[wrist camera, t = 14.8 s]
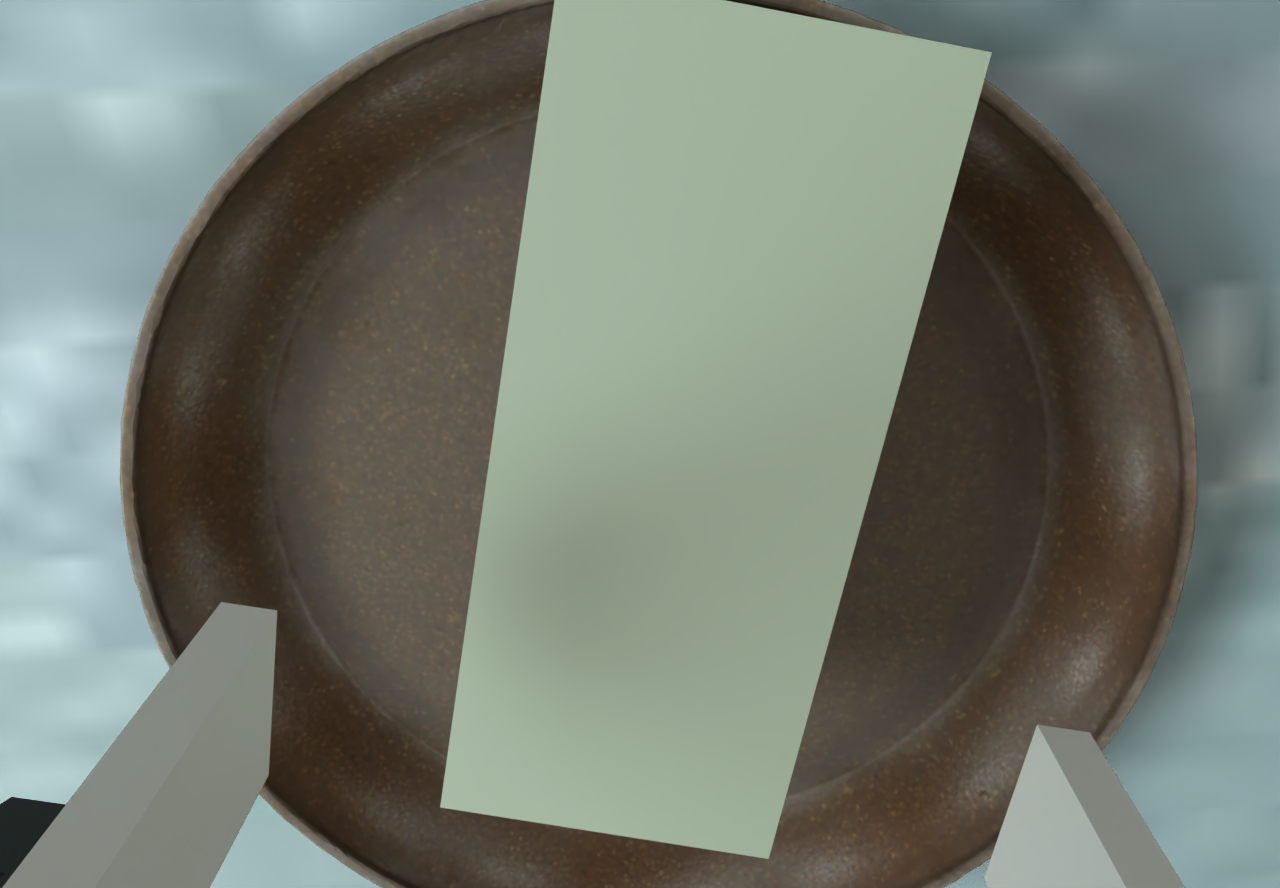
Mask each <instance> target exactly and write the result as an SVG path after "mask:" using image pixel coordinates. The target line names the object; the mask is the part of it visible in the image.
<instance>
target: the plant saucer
mask: <svg viewBox="0 0 1280 888" xmlns="http://www.w3.org/2000/svg"><path fill="white" fill-rule="evenodd" d="M726 1H731V2H736V3H741V4H747V5H752V6H757V7H762V8H767V9H772V10H777V11H782V12H788V13H793V14H798V15H803V16H808V17H813V18H818V19H824V20H829V21H834V22H839V23H844V24H849V25H854V26H859V27H865V28H870V29H875V30H880V31H885V32H890V33H895V34H900V35H906V36H910V35H908V34H905V33H903V32H901V31H899V30H897V29H895V28H893V27H890V26H888V25H886V24H883V23H881V22H878V21H876V20H873V19H871V18H868V17H865V16H863V15H860V14H858V13H855V12H853V11H850V10H847V9H844V8H841V7H838V6H835V5H832V4H829V3H826V2H823V1H820V0H726ZM553 8H554V0H484V1H481V2H478V3H475V4H472V5H469V6H466V7H463V8H460V9H457V10H454V11H451V12H449V13H447V14H444V15H442V16H439V17H437V18H434V19H432V20H430V21H427V22H425V23H423V24H420V25H418V26H416V27H414V28H411V29H409V30H407V31H404V32H402V33H400V34H398V35H396V36H394V37H392V38H390V39H388V40H386V41H384V42H382V43H380V44H378V45H376V46H375V47H373V48H371V49H370V50H368V51H366V52H365V53H363V54H361V55H360V56H358V57H356V58H355V59H353V60H351V61H350V62H348V63H347V64H345V65H344V66H342V67H341V68H339V69H338V70H336V71H335V72H333V73H332V74H330V75H328V76H327V77H325V78H324V79H322V80H320V81H319V82H317V83H316V84H315V85H314V86H312V87H311V88H310V89H308V90H307V91H306V92H305V93H303V94H302V95H301V96H299V97H298V98H297V99H296V100H295V101H294V102H293V103H291V104H290V105H289V106H288V107H287V108H286V109H284V110H283V111H282V112H281V113H280V114H279V115H278V116H277V117H276V118H275V119H274V120H272V121H271V122H270V123H269V124H268V125H267V126H266V127H265V128H264V129H263V130H262V131H261V132H260V133H259V134H258V135H257V136H256V137H255V138H254V139H253V140H252V141H251V142H250V143H249V144H248V146H247V147H246V148H245V149H244V150H243V151H242V152H241V153H240V154H239V155H238V156H237V157H236V159H235V160H234V161H233V162H232V163H231V165H230V166H229V167H228V168H227V169H226V171H225V172H224V173H223V174H222V176H221V177H220V178H219V179H218V181H217V182H216V183H215V184H214V186H213V187H212V188H211V189H210V191H209V192H208V194H207V195H206V197H205V198H204V200H203V201H202V203H201V204H200V206H199V207H198V209H197V211H196V212H195V214H194V215H193V217H192V218H191V220H190V221H189V223H188V225H187V226H186V228H185V230H184V232H183V233H182V235H181V237H180V238H179V240H178V242H177V244H176V245H175V247H174V249H173V251H172V252H171V254H170V256H169V258H168V261H167V263H166V265H165V267H164V270H163V272H162V274H161V276H160V278H159V281H158V283H157V285H156V288H155V290H154V293H153V295H152V297H151V300H150V302H149V305H148V307H147V310H146V312H145V315H144V319H143V322H142V325H141V328H140V332H139V335H138V339H137V342H136V346H135V349H134V352H133V356H132V359H131V365H130V370H129V376H128V381H127V387H126V393H125V399H124V406H123V413H122V419H121V458H120V488H121V500H122V512H123V523H124V527H125V531H126V537H127V545H128V552H129V556H130V561H131V565H132V570H133V574H134V579H135V583H136V585H137V588H138V591H139V593H140V597H141V601H142V605H143V608H144V611H145V614H146V617H147V620H148V622H149V625H150V628H151V630H152V633H153V635H154V637H155V640H156V642H157V644H158V647H159V649H160V651H161V653H162V655H163V657H164V659H165V661H166V662H167V664H168V666H169V668H171V667H172V666H173V664H174V663H175V662H176V660H177V659H178V658H179V656H180V655H181V654H182V653H183V651H184V650H185V649H186V647H187V646H188V645H189V643H190V642H191V641H192V640H193V638H194V637H195V636H196V634H197V633H198V632H199V630H200V629H201V628H202V627H203V625H204V624H205V623H206V621H207V620H208V619H209V617H210V616H211V615H212V613H213V612H214V611H215V610H216V608H217V607H218V606H219V604H220V603H221V602H224V603H231V604H237V605H244V606H251V607H257V608H264V609H271V610H277V626H276V645H275V664H274V683H273V702H272V721H271V740H270V760H269V775H268V777H267V779H266V781H265V783H264V785H263V787H262V789H261V791H260V793H259V795H260V796H261V797H262V798H263V799H264V800H265V801H266V802H267V803H268V804H269V805H270V806H271V807H272V808H273V809H274V810H275V811H276V812H277V813H278V814H279V815H280V816H282V817H283V818H284V819H285V820H286V821H287V822H289V823H290V824H291V825H292V826H294V827H295V828H296V829H297V830H298V831H300V832H301V833H302V834H303V835H305V836H306V837H307V838H308V839H310V840H311V841H312V842H314V843H315V844H316V845H317V846H319V847H320V848H321V849H322V850H324V851H325V852H327V853H329V854H330V855H332V856H333V857H335V858H336V859H338V860H339V861H340V862H341V863H343V864H344V865H346V866H347V867H349V868H350V869H352V870H353V871H355V872H356V873H358V874H359V875H361V876H363V877H364V878H366V879H367V880H369V881H371V882H372V883H374V884H376V885H378V886H380V887H382V888H944V887H946V886H947V885H949V884H951V883H953V882H955V881H957V880H958V879H960V878H961V877H962V876H964V875H965V874H967V873H968V872H970V871H971V870H973V869H974V868H976V867H978V866H980V865H981V864H983V863H984V862H985V861H986V860H988V859H990V858H991V856H992V854H993V851H994V848H995V845H996V842H997V839H998V836H999V833H1000V830H1001V827H1002V825H1003V822H1004V819H1005V816H1006V813H1007V810H1008V807H1009V804H1010V801H1011V799H1012V796H1013V793H1014V790H1015V787H1016V784H1017V781H1018V778H1019V775H1020V772H1021V770H1022V767H1023V764H1024V761H1025V758H1026V755H1027V752H1028V749H1029V746H1030V743H1031V741H1032V738H1033V735H1034V732H1035V729H1036V726H1037V725H1044V726H1050V727H1057V728H1064V729H1070V730H1077V731H1084V732H1090V734H1091V735H1092V737H1093V739H1094V740H1095V742H1096V743H1097V745H1098V747H1099V748H1100V750H1101V751H1102V750H1103V748H1104V747H1105V746H1106V745H1107V744H1108V742H1109V741H1110V740H1111V739H1112V738H1113V736H1114V735H1115V734H1116V732H1117V730H1118V728H1119V727H1120V725H1121V723H1122V722H1123V720H1124V719H1125V717H1126V716H1127V714H1128V713H1129V711H1130V709H1131V708H1132V706H1133V705H1134V703H1135V702H1136V700H1137V699H1138V697H1139V695H1140V693H1141V692H1142V690H1143V688H1144V686H1145V684H1146V682H1147V681H1148V679H1149V677H1150V675H1151V673H1152V671H1153V668H1154V666H1155V664H1156V662H1157V659H1158V657H1159V655H1160V652H1161V650H1162V648H1163V645H1164V642H1165V640H1166V637H1167V635H1168V632H1169V629H1170V627H1171V624H1172V622H1173V619H1174V616H1175V613H1176V610H1177V606H1178V603H1179V599H1180V596H1181V592H1182V588H1183V582H1184V578H1185V574H1186V570H1187V566H1188V562H1189V558H1190V554H1191V548H1192V542H1193V535H1194V529H1195V524H1194V516H1195V512H1196V507H1197V486H1198V464H1197V443H1196V431H1195V421H1194V414H1193V407H1192V399H1191V393H1190V388H1189V384H1188V379H1187V374H1186V369H1185V364H1184V360H1183V355H1182V352H1181V348H1180V345H1179V342H1178V339H1177V336H1176V333H1175V330H1174V326H1173V323H1172V320H1171V317H1170V314H1169V312H1168V309H1167V307H1166V305H1165V302H1164V300H1163V297H1162V295H1161V292H1160V290H1159V287H1158V285H1157V283H1156V280H1155V278H1154V276H1153V274H1152V272H1151V270H1150V269H1149V267H1148V265H1147V263H1146V262H1145V260H1144V258H1143V256H1142V254H1141V252H1140V250H1139V248H1138V246H1137V244H1136V242H1135V240H1134V239H1133V237H1132V236H1131V234H1130V233H1129V231H1128V230H1127V229H1126V227H1125V226H1124V224H1123V223H1122V221H1121V220H1120V218H1119V216H1118V215H1117V213H1116V211H1115V210H1114V208H1113V207H1112V205H1111V204H1110V203H1109V201H1108V200H1107V199H1106V197H1105V196H1104V195H1103V193H1102V192H1101V190H1100V189H1099V188H1098V186H1097V185H1096V184H1095V182H1094V181H1093V180H1092V179H1091V177H1090V176H1089V175H1088V174H1087V173H1086V172H1085V171H1084V170H1083V169H1082V168H1081V166H1080V165H1079V164H1078V163H1077V162H1076V160H1075V159H1074V158H1073V157H1072V155H1071V154H1070V153H1069V152H1068V151H1067V150H1066V149H1065V148H1064V147H1063V146H1062V145H1061V144H1060V143H1059V142H1058V141H1057V140H1056V139H1055V138H1054V137H1053V136H1052V135H1051V134H1050V133H1049V132H1048V131H1047V130H1046V129H1045V128H1044V127H1043V126H1042V125H1041V124H1040V123H1038V122H1037V121H1036V120H1035V119H1034V118H1032V117H1031V116H1030V115H1029V114H1028V113H1027V112H1025V111H1024V110H1023V109H1022V108H1021V107H1020V106H1018V105H1017V104H1016V103H1015V102H1014V101H1012V100H1011V99H1010V98H1009V97H1008V96H1007V95H1005V94H1004V93H1003V92H1002V91H1000V90H999V89H997V88H996V87H994V86H993V85H992V84H990V83H989V82H987V81H986V80H984V83H983V86H982V90H981V94H980V97H979V101H978V105H977V108H976V112H975V115H974V119H973V123H972V126H971V130H970V133H969V137H968V141H967V144H966V148H965V151H964V155H963V159H962V162H961V166H960V170H959V173H958V177H957V180H956V184H955V188H954V191H953V195H952V198H951V202H950V206H949V209H948V213H947V216H946V220H945V224H944V227H943V231H942V235H941V238H940V242H939V245H938V249H937V253H936V256H935V260H934V263H933V267H932V271H931V274H930V278H929V281H928V285H927V289H926V292H925V296H924V300H923V303H922V307H921V310H920V314H919V318H918V321H917V325H916V328H915V332H914V336H913V339H912V343H911V346H910V350H909V354H908V357H907V361H906V365H905V368H904V372H903V375H902V379H901V383H900V386H899V390H898V393H897V397H896V401H895V404H894V408H893V411H892V415H891V419H890V422H889V426H888V429H887V433H886V437H885V440H884V444H883V448H882V451H881V455H880V458H879V462H878V466H877V469H876V473H875V476H874V480H873V484H872V487H871V491H870V494H869V498H868V502H867V505H866V509H865V513H864V516H863V520H862V523H861V527H860V531H859V534H858V538H857V541H856V545H855V549H854V552H853V556H852V559H851V563H850V567H849V570H848V574H847V578H846V581H845V585H844V588H843V592H842V596H841V599H840V603H839V606H838V610H837V614H836V617H835V621H834V624H833V628H832V632H831V635H830V639H829V643H828V646H827V650H826V653H825V657H824V661H823V664H822V668H821V671H820V675H819V679H818V682H817V686H816V689H815V693H814V697H813V700H812V704H811V708H810V711H809V715H808V718H807V722H806V726H805V729H804V733H803V736H802V740H801V744H800V747H799V751H798V754H797V758H796V762H795V765H794V769H793V773H792V776H791V780H790V783H789V787H788V791H787V794H786V798H785V801H784V805H783V809H782V812H781V816H780V819H779V823H778V827H777V830H776V834H775V838H774V841H773V845H772V848H771V852H770V856H769V859H765V858H759V857H753V856H746V855H740V854H734V853H727V852H721V851H714V850H708V849H702V848H695V847H689V846H683V845H676V844H670V843H663V842H657V841H651V840H644V839H638V838H632V837H625V836H619V835H612V834H606V833H600V832H593V831H587V830H581V829H574V828H568V827H562V826H555V825H549V824H542V823H536V822H530V821H523V820H517V819H511V818H504V817H498V816H491V815H485V814H479V813H472V812H466V811H460V810H453V809H447V808H440V804H441V797H442V790H443V783H444V776H445V769H446V762H447V755H448V748H449V741H450V734H451V727H452V720H453V713H454V706H455V699H456V691H457V684H458V677H459V670H460V663H461V656H462V649H463V642H464V635H465V628H466V621H467V614H468V607H469V600H470V593H471V586H472V579H473V572H474V565H475V557H476V550H477V543H478V536H479V529H480V522H481V515H482V508H483V501H484V494H485V487H486V480H487V473H488V466H489V459H490V452H491V445H492V438H493V431H494V424H495V416H496V409H497V402H498V395H499V388H500V381H501V374H502V367H503V360H504V353H505V346H506V339H507V332H508V325H509V318H510V311H511V304H512V297H513V290H514V283H515V275H516V268H517V261H518V254H519V247H520V240H521V233H522V226H523V219H524V212H525V205H526V198H527V191H528V184H529V177H530V170H531V163H532V156H533V149H534V141H535V134H536V127H537V120H538V113H539V106H540V99H541V92H542V85H543V78H544V71H545V64H546V57H547V50H548V43H549V36H550V29H551V22H552V15H553ZM911 37H912V36H911Z"/></svg>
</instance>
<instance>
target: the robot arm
mask: <svg viewBox="0 0 1280 888" xmlns="http://www.w3.org/2000/svg"><path fill="white" fill-rule="evenodd" d="M276 626H277V610H271V609H264V608H257V607H251V606H244V605H237V604H231V603H224V602H221V603H220V604H219V606H218V607H217V608H216V610H215V611H214V612H213V613H212V615H211V616H210V617H209V619H208V620H207V621H206V623H205V624H204V625H203V627H202V628H201V629H200V630H199V632H198V633H197V634H196V636H195V637H194V638H193V640H192V641H191V642H190V643H189V645H188V646H187V647H186V649H185V650H184V651H183V653H182V654H181V655H180V656H179V658H178V659H177V660H176V662H175V663H174V664H173V666H172V667H171V668H170V670H169V671H168V672H167V673H166V675H165V676H164V677H163V679H162V680H161V681H160V683H159V684H158V685H157V686H156V688H155V689H154V690H153V692H152V693H151V694H150V696H149V697H148V698H147V700H146V701H145V702H144V703H143V705H142V706H141V707H140V709H139V710H138V711H137V713H136V714H135V715H134V716H133V718H132V719H131V720H130V722H129V723H128V724H127V726H126V727H125V728H124V730H123V731H122V732H121V733H120V735H119V736H118V737H117V739H116V740H115V741H114V743H113V744H112V745H111V746H110V748H109V749H108V750H107V752H106V753H105V754H104V756H103V757H102V758H101V760H100V761H99V762H98V763H97V765H96V766H95V767H94V769H93V770H92V771H91V773H90V774H89V775H88V776H87V778H86V779H85V780H84V782H83V783H82V784H81V786H80V787H79V788H78V789H77V791H76V792H75V793H74V795H73V796H72V797H71V799H70V800H69V801H68V803H67V804H66V805H64V804H57V803H50V802H43V801H36V800H29V799H22V798H15V797H11V798H9V799H8V800H6V801H5V802H3V803H1V804H0V888H210V886H211V884H212V882H213V880H214V878H215V876H216V875H217V873H218V871H219V869H220V867H221V865H222V863H223V861H224V859H225V857H226V855H227V854H228V852H229V850H230V848H231V846H232V844H233V842H234V840H235V838H236V836H237V834H238V833H239V831H240V829H241V827H242V825H243V823H244V821H245V819H246V817H247V815H248V814H249V812H250V810H251V808H252V806H253V804H254V802H255V800H256V798H257V796H258V794H259V793H260V791H261V789H262V787H263V785H264V783H265V781H266V779H267V777H268V775H269V760H270V740H271V721H272V702H273V683H274V664H275V645H276ZM984 879H985V882H986V884H987V887H988V888H1185V887H1184V885H1183V883H1182V882H1181V880H1180V878H1179V877H1178V875H1177V874H1176V872H1175V870H1174V869H1173V867H1172V865H1171V864H1170V862H1169V861H1168V859H1167V857H1166V856H1165V854H1164V852H1163V851H1162V849H1161V848H1160V846H1159V844H1158V843H1157V841H1156V839H1155V838H1154V836H1153V835H1152V833H1151V831H1150V830H1149V828H1148V826H1147V825H1146V823H1145V821H1144V820H1143V818H1142V817H1141V815H1140V813H1139V812H1138V810H1137V808H1136V807H1135V805H1134V804H1133V802H1132V800H1131V799H1130V797H1129V795H1128V794H1127V792H1126V791H1125V789H1124V787H1123V786H1122V784H1121V782H1120V781H1119V779H1118V778H1117V776H1116V774H1115V773H1114V771H1113V769H1112V768H1111V766H1110V765H1109V763H1108V761H1107V760H1106V758H1105V756H1104V755H1103V753H1102V752H1101V750H1100V748H1099V747H1098V745H1097V743H1096V742H1095V740H1094V739H1093V737H1092V735H1091V734H1090V732H1084V731H1077V730H1070V729H1064V728H1057V727H1050V726H1044V725H1037V726H1036V729H1035V732H1034V735H1033V738H1032V741H1031V743H1030V746H1029V749H1028V752H1027V755H1026V758H1025V761H1024V764H1023V767H1022V770H1021V772H1020V775H1019V778H1018V781H1017V784H1016V787H1015V790H1014V793H1013V796H1012V799H1011V801H1010V804H1009V807H1008V810H1007V813H1006V816H1005V819H1004V822H1003V825H1002V827H1001V830H1000V833H999V836H998V839H997V842H996V845H995V848H994V851H993V854H992V856H991V859H990V862H989V865H988V868H987V871H986V874H985V877H984Z"/></svg>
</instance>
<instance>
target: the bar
mask: <svg viewBox="0 0 1280 888" xmlns="http://www.w3.org/2000/svg"><path fill="white" fill-rule="evenodd" d="M991 54H992V52H988V51H982V50H977V49H972V48H967V47H962V46H957V45H952V44H947V43H941V42H936V41H931V40H926V39H921V38H916V37H911V36H906V35H900V34H895V33H890V32H885V31H880V30H875V29H870V28H865V27H859V26H854V25H849V24H844V23H839V22H834V21H829V20H824V19H818V18H813V17H808V16H803V15H798V14H793V13H788V12H782V11H777V10H772V9H767V8H762V7H757V6H752V5H747V4H741V3H736V2H731V1H726V0H554V8H553V15H552V22H551V29H550V36H549V43H548V50H547V57H546V64H545V71H544V78H543V85H542V92H541V99H540V106H539V113H538V120H537V127H536V134H535V141H534V149H533V156H532V163H531V170H530V177H529V184H528V191H527V198H526V205H525V212H524V219H523V226H522V233H521V240H520V247H519V254H518V261H517V268H516V275H515V283H514V290H513V297H512V304H511V311H510V318H509V325H508V332H507V339H506V346H505V353H504V360H503V367H502V374H501V381H500V388H499V395H498V402H497V409H496V416H495V424H494V431H493V438H492V445H491V452H490V459H489V466H488V473H487V480H486V487H485V494H484V501H483V508H482V515H481V522H480V529H479V536H478V543H477V550H476V557H475V565H474V572H473V579H472V586H471V593H470V600H469V607H468V614H467V621H466V628H465V635H464V642H463V649H462V656H461V663H460V670H459V677H458V684H457V691H456V699H455V706H454V713H453V720H452V727H451V734H450V741H449V748H448V755H447V762H446V769H445V776H444V783H443V790H442V797H441V804H440V808H447V809H453V810H460V811H466V812H472V813H479V814H485V815H491V816H498V817H504V818H511V819H517V820H523V821H530V822H536V823H542V824H549V825H555V826H562V827H568V828H574V829H581V830H587V831H593V832H600V833H606V834H612V835H619V836H625V837H632V838H638V839H644V840H651V841H657V842H663V843H670V844H676V845H683V846H689V847H695V848H702V849H708V850H714V851H721V852H727V853H734V854H740V855H746V856H753V857H759V858H765V859H769V856H770V852H771V848H772V845H773V841H774V838H775V834H776V830H777V827H778V823H779V819H780V816H781V812H782V809H783V805H784V801H785V798H786V794H787V791H788V787H789V783H790V780H791V776H792V773H793V769H794V765H795V762H796V758H797V754H798V751H799V747H800V744H801V740H802V736H803V733H804V729H805V726H806V722H807V718H808V715H809V711H810V708H811V704H812V700H813V697H814V693H815V689H816V686H817V682H818V679H819V675H820V671H821V668H822V664H823V661H824V657H825V653H826V650H827V646H828V643H829V639H830V635H831V632H832V628H833V624H834V621H835V617H836V614H837V610H838V606H839V603H840V599H841V596H842V592H843V588H844V585H845V581H846V578H847V574H848V570H849V567H850V563H851V559H852V556H853V552H854V549H855V545H856V541H857V538H858V534H859V531H860V527H861V523H862V520H863V516H864V513H865V509H866V505H867V502H868V498H869V494H870V491H871V487H872V484H873V480H874V476H875V473H876V469H877V466H878V462H879V458H880V455H881V451H882V448H883V444H884V440H885V437H886V433H887V429H888V426H889V422H890V419H891V415H892V411H893V408H894V404H895V401H896V397H897V393H898V390H899V386H900V383H901V379H902V375H903V372H904V368H905V365H906V361H907V357H908V354H909V350H910V346H911V343H912V339H913V336H914V332H915V328H916V325H917V321H918V318H919V314H920V310H921V307H922V303H923V300H924V296H925V292H926V289H927V285H928V281H929V278H930V274H931V271H932V267H933V263H934V260H935V256H936V253H937V249H938V245H939V242H940V238H941V235H942V231H943V227H944V224H945V220H946V216H947V213H948V209H949V206H950V202H951V198H952V195H953V191H954V188H955V184H956V180H957V177H958V173H959V170H960V166H961V162H962V159H963V155H964V151H965V148H966V144H967V141H968V137H969V133H970V130H971V126H972V123H973V119H974V115H975V112H976V108H977V105H978V101H979V97H980V94H981V90H982V86H983V83H984V79H985V76H986V72H987V68H988V65H989V61H990V58H991Z"/></svg>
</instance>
